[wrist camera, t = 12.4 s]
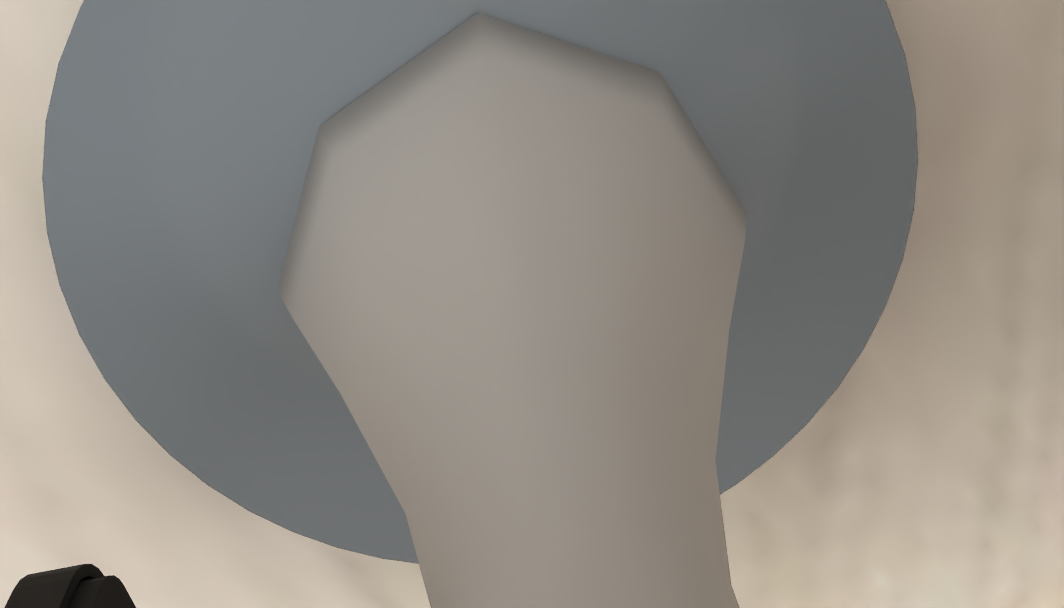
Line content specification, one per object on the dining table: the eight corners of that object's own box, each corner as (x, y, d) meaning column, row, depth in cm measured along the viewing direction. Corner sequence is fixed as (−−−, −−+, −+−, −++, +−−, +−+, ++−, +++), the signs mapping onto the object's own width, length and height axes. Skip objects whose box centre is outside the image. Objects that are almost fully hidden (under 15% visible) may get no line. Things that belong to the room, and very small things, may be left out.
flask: (462, -86, 14) (547, 209, 5) (818, 194, 16) (1271, 699, 8) (200, 294, 16) (-45, 933, 7) (548, 484, 19) (665, 1115, 10)
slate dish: (894, -336, 14) (926, -342, 13) (890, 453, 21) (912, 484, 20) (-106, -129, 14) (-141, -120, 13) (229, 591, 21) (221, 628, 20)
